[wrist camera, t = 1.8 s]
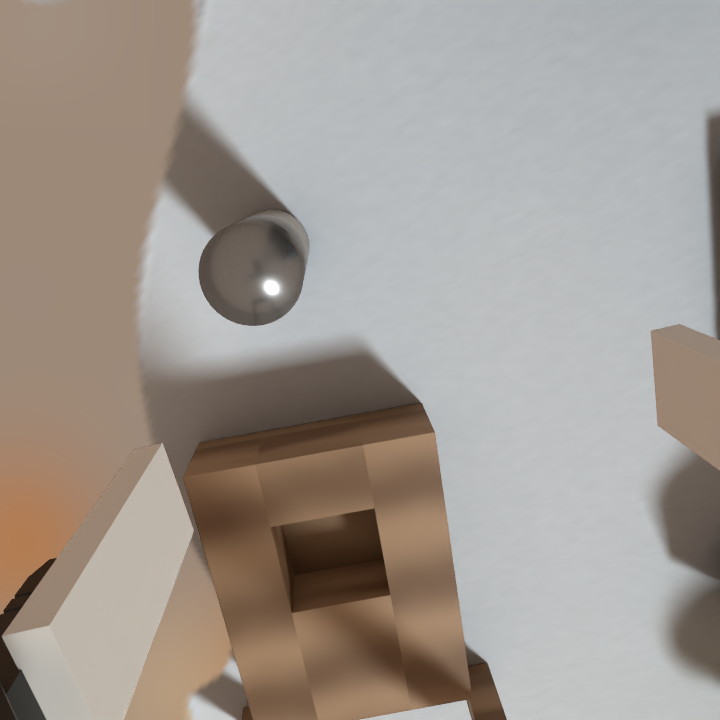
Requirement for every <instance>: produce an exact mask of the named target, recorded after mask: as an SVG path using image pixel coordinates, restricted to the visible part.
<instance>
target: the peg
mask: <svg viewBox="0 0 720 720" xmlns="http://www.w3.org/2000/svg"><path fill="white" fill-rule="evenodd" d="M308 254H309V239H308V235H307V233H306V230H305V229H304V227H303V225H302V224H301V223H300V222H299V221H298V220H297V219H296V218H295V217H294V216H292V215H291V214H289V213H287V212H284V211H281V210H272V209H271V210H264V211H261V212H258V213H256V214H254V215H252V216H250V217H247V218H245V219H243V220H241V221H239V222H237V223H235V224H232V225H230V226H228V227H226V228H224V229H223V230H221V231H219V232H218V233H217V234H216V235H214V237H213V238H212V239H211V240H210V241H209V242H208V244H207V245H206V247H205V249H204V250H203V253H202V255H201V259H200V263H199V280H200V285H201V288H202V291H203V293H204V296H205V298H206V299H207V301H208V302H209V304H210V305H211V306H212V307H213V308H214V309H215V310H216V311H217V312H218V313H219V314H220V315H222V316H223V317H225V318H226V319H228V320H230V321H233V322H235V323H238V324H242V325H249V326H258V325H264V324H268V323H271V322H274V321H276V320H278V319H279V318H281V317H283V316H284V315H285V314H286V313H287V312H288V311H290V310H291V308H292V307H293V306H294V305H295V303H296V301H297V300H298V297H299V295H300V293H301V289H302V285H303V280H304V275H305V270H306V264H307V259H308Z"/></svg>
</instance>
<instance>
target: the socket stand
mask: <svg viewBox="0 0 720 720" xmlns="http://www.w3.org/2000/svg"><path fill="white" fill-rule="evenodd" d="M183 479H184V483H185V486H186V490H187V493H188V496H189V500H190V503H191V507H192V510H193V514H194V517H195V521H196V524H197V528H198V531H199V534H200V538H201V541H202V545H203V548H204V552H205V555H206V559H207V562H208V566H209V569H210V573H211V576H212V579H213V583H214V586H215V590H216V593H217V597H218V600H219V604H220V607H221V611H222V614H223V617H224V621H225V624H226V628H227V631H228V635H229V638H230V642H231V645H232V649H233V652H234V656H235V659H236V662H237V666H238V669H239V673H240V676H241V680H242V683H243V687H244V690H245V694H246V697H247V700H248V704H249V707H244V709H243V716H242V720H359V719H365V718H370V717H375V716H381V715H386V714H392V713H397V712H402V711H408V710H413V709H419V708H424V707H430V706H435V705H440V704H446V703H451V702H457V701H462V700H467V704H468V707H469V711H470V715H471V718H472V720H507V719H506V716H505V713H504V710H503V707H502V704H501V702H500V699H499V696H498V693H497V690H496V687H495V684H494V681H493V678H492V675H491V672H490V669H489V666H488V664H487V663H483V664H478V665H472V666H468V664H467V657H466V650H465V643H464V636H463V629H462V622H461V615H460V608H459V601H458V593H457V586H456V579H455V572H454V565H453V558H452V551H451V544H450V537H449V530H448V523H447V515H446V508H445V501H444V494H443V487H442V480H441V473H440V466H439V459H438V452H437V445H436V438H435V432H434V429H433V427H432V425H431V423H430V421H429V418H428V416H427V414H426V412H425V409H424V407H423V405H422V403H418V404H412V405H407V406H401V407H395V408H390V409H384V410H379V411H373V412H368V413H362V414H356V415H351V416H345V417H340V418H334V419H329V420H323V421H317V422H312V423H306V424H301V425H295V426H290V427H284V428H278V429H273V430H267V431H262V432H256V433H251V434H245V435H239V436H234V437H228V438H223V439H217V440H212V441H206V442H200V443H199V445H198V447H197V449H196V451H195V453H194V456H193V458H192V460H191V462H190V464H189V466H188V468H187V470H186V472H185V475H184V477H183Z"/></svg>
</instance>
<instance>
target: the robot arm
mask: <svg viewBox="0 0 720 720" xmlns="http://www.w3.org/2000/svg"><path fill="white" fill-rule="evenodd" d="M651 339H652V353H653V367H654V381H655V395H656V408H657V422H658V426H659V427H661V428H662V429H663V430H665V431H666V432H667V433H669V434H670V435H671V436H673V437H674V438H676V439H677V440H678V441H680V442H681V443H682V444H684V445H685V446H686V447H688V448H689V449H691V450H692V451H693V452H695V453H696V454H697V455H699V456H700V457H701V458H703V459H704V460H706V461H707V462H708V463H710V464H711V465H712V466H714V467H715V468H716V469H718V470H719V471H720V340H718V339H715V338H713V337H710V336H708V335H705V334H703V333H700V332H698V331H695V330H693V329H690V328H688V327H685V326H683V325H680V324H678V325H674V326H669V327H665V328H661V329H656V330H652V331H651ZM193 532H194V529H193V527H192V524H191V521H190V518H189V515H188V513H187V510H186V507H185V504H184V501H183V499H182V496H181V493H180V490H179V487H178V485H177V482H176V479H175V476H174V473H173V471H172V468H171V465H170V462H169V459H168V456H167V454H166V451H165V448H164V445H163V443H159V444H154V445H150V446H146V447H141V448H137V449H134V450H133V452H132V453H131V454H130V456H129V458H128V459H127V460H126V462H125V463H124V464H123V466H122V467H121V469H120V470H119V471H118V473H117V474H116V476H115V477H114V478H113V480H112V481H111V483H110V484H109V485H108V487H107V488H106V490H105V491H104V493H103V494H102V495H101V497H100V498H99V500H98V501H97V503H96V504H95V505H94V507H93V508H92V510H91V511H90V512H89V514H88V515H87V516H86V518H85V519H84V521H83V522H82V524H81V525H80V526H79V528H78V529H77V531H76V532H75V534H74V535H73V536H72V538H71V539H70V541H69V542H68V543H67V545H66V546H65V548H64V549H63V550H62V552H61V553H60V555H59V556H58V557H57V558H54V559H50V560H48V561H47V562H46V563H45V564H44V565H42V566H41V567H40V568H39V569H38V570H36V571H35V572H34V573H33V574H32V575H30V576H29V577H28V578H27V580H26V581H25V583H24V584H23V585H22V586H21V588H20V589H19V590H18V592H17V593H16V594H15V599H12V600H11V601H10V603H9V604H8V605H7V607H6V608H5V609H4V614H1V615H0V720H124V718H125V715H126V712H127V709H128V707H129V704H130V702H131V699H132V696H133V693H134V691H135V688H136V685H137V683H138V680H139V677H140V675H141V672H142V669H143V667H144V664H145V661H146V659H147V656H148V653H149V651H150V648H151V645H152V642H153V639H154V637H155V634H156V632H157V629H158V626H159V624H160V621H161V618H162V615H163V613H164V610H165V607H166V605H167V602H168V599H169V597H170V594H171V591H172V588H173V586H174V583H175V581H176V578H177V575H178V573H179V570H180V567H181V564H182V562H183V559H184V557H185V554H186V551H187V549H188V546H189V543H190V540H191V538H192V535H193Z"/></svg>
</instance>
